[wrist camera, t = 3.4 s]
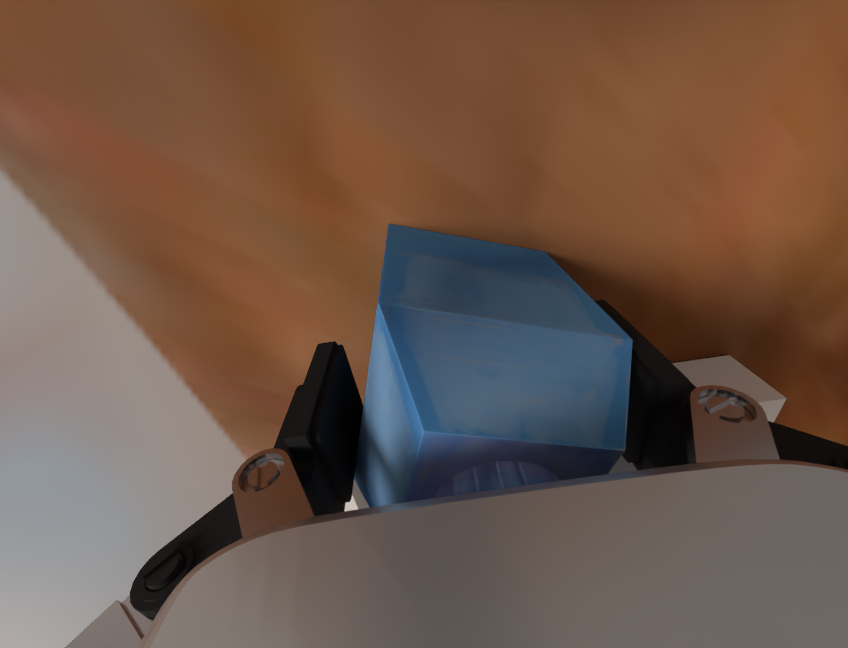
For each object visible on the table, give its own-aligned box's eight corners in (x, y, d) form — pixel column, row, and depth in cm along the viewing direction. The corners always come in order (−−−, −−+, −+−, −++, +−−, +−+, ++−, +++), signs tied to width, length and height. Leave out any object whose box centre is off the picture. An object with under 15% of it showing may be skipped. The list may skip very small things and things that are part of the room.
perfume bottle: (388, 223, 13) (331, 660, 3) (545, 251, 14) (953, 661, 4) (370, 356, 16) (310, 792, 6) (498, 372, 17) (642, 775, 7)
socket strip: (729, 354, 17) (787, 398, 14) (680, 479, 22) (716, 527, 20) (327, 413, 18) (315, 464, 15) (372, 520, 23) (368, 571, 20)
